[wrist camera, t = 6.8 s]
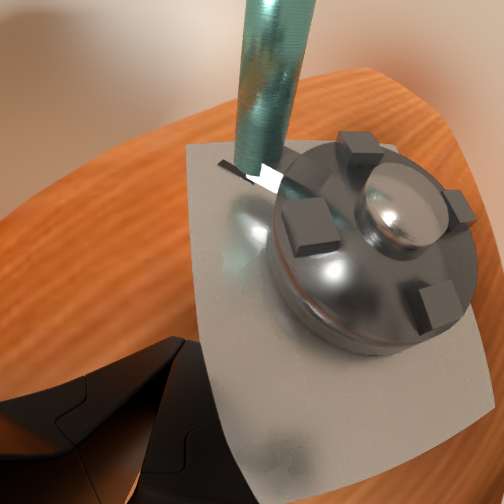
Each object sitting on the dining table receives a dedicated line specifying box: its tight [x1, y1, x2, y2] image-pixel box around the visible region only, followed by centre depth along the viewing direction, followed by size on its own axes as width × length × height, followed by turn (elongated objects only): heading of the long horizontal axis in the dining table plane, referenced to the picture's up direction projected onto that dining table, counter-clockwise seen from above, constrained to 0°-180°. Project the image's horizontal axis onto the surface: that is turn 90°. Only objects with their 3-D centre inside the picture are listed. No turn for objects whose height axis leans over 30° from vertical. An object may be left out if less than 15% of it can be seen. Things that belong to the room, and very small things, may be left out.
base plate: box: [186, 140, 495, 504], centre depth 17 cm, size 22×17×2 cm
